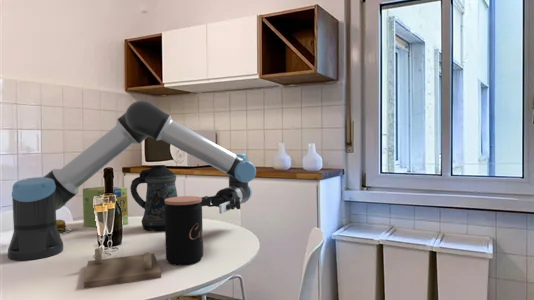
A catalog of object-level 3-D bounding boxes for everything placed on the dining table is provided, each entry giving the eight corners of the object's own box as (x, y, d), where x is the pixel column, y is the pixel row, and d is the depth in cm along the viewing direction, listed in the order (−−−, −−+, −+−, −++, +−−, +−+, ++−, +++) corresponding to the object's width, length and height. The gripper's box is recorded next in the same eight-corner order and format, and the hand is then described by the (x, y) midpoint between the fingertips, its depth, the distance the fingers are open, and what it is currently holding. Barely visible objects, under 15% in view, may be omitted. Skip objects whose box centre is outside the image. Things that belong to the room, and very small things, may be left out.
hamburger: (63, 237, 148) (63, 223, 148) (33, 237, 149) (33, 223, 149) (82, 230, 160) (81, 216, 160) (54, 230, 161) (53, 216, 161)
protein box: (108, 229, 158) (106, 190, 157) (83, 225, 165) (81, 188, 165) (128, 224, 167) (127, 187, 167) (104, 220, 175) (103, 185, 174)
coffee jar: (195, 267, 109) (193, 202, 109) (159, 265, 111) (157, 201, 111) (208, 255, 120) (207, 196, 119) (175, 254, 122) (173, 195, 121)
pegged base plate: (84, 288, 95) (83, 265, 95) (88, 266, 112) (87, 246, 112) (161, 277, 102) (160, 256, 101) (154, 258, 118) (153, 239, 118)
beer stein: (190, 228, 157) (189, 165, 156) (141, 235, 146) (139, 168, 146) (175, 221, 171) (173, 163, 170) (129, 227, 160) (127, 165, 159)
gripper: (261, 209, 141) (237, 222, 121) (198, 207, 149) (166, 218, 129) (260, 188, 141) (237, 197, 120) (197, 187, 149) (165, 195, 128)
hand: (200, 208), depth 124 cm, fingers open, 13 cm apart
